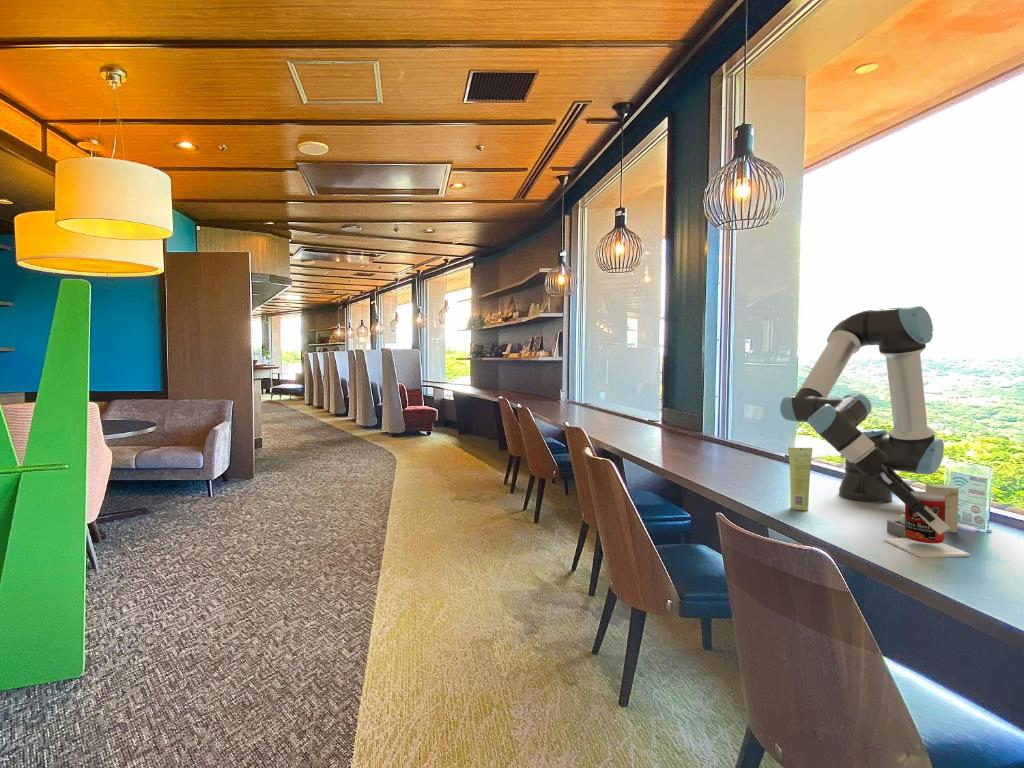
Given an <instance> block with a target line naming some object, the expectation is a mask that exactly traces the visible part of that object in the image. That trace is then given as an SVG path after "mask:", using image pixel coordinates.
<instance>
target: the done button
mask: <svg viewBox="0 0 1024 768" xmlns="http://www.w3.org/2000/svg"><path fill="white" fill-rule="evenodd" d="M899 520H900V524H901V525H904V526H905V513H903V514H900V518H899Z"/></svg>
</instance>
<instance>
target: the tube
mask: <svg viewBox="0 0 1024 768" xmlns="http://www.w3.org/2000/svg"><path fill="white" fill-rule="evenodd" d="M787 450H788V459H789V460H788V461H789V462H788V463H789V481H790V482H789V483H790V488H789V489H790V508H791V509H792V510H794V511H796V510H797V511H808V510H809V498H810V479H811V478H810V477H811V466H812V454H813V447H788V449H787Z"/></svg>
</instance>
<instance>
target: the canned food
mask: <svg viewBox="0 0 1024 768" xmlns="http://www.w3.org/2000/svg"><path fill="white" fill-rule="evenodd" d="M911 493H912V494H913V495H914V496H915V497H916V498H917V499H918V500H919V501H920V502H921V503H922V504H924V506H925V505H926V506H927V507H928V508H929V509H930V510H931V511H932V512H933V513H934V514H936V515H937V516H938V517H939V518H940V519H941V520H942V521H943V522H944V523H945V496H943V495H940V494H936V493H930V492H926V491H921V490H920V491H918V490H917V491H916V490H915V491H911ZM915 505H916V504H915ZM913 506H914V505H913ZM911 512H912V511H911V509H910V508H909V507H908V506H907V505H906V504H905V503H904V514H905V534H906V537H907V538H909V539H911V540H914V541H918V542H923V543H944V540H945V538H946V537H945V535H946V532H943V533H942V534H940V535H939V534H938V533H937V532H936V531H935V530H934V529H933V528H932V527H931V526H929V525H928V524H927V523H926V522H925V521H924V520H923V519H922V518H921V517H920V516H919V515H918V514H916V513H915V514H914V515H913V514H912V513H911Z"/></svg>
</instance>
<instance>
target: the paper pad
mask: <svg viewBox="0 0 1024 768" xmlns="http://www.w3.org/2000/svg"><path fill="white" fill-rule="evenodd" d="M882 540H884V541H883V542H885V541H886V542H885V543H887V542H888V544H889V543H890V545H892V546H894V545H895V546H894V547H896V546H897V547H896V548H898V547H900V548H899V549H901V548H902V549H901V550H903V549H904V550H903V551H905V550H906V551H905V552H907V551H909V552H911V553H910V554H912V553H913V554H912V555H914V554H915V555H914V556H916V555H917V557H918V556H920V557H919V558H948V557H949V558H955V557H957V558H958V557H971V553H969V552H966V551H964V550H961V549H958V548H956V547H953V546H951V545H949V544H946V543H944V542H942V543H923V542H918V541H914V540H911V539H909V538H902V537H895V538H894V537H890V538H883V539H882ZM909 552H908V553H909Z"/></svg>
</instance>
